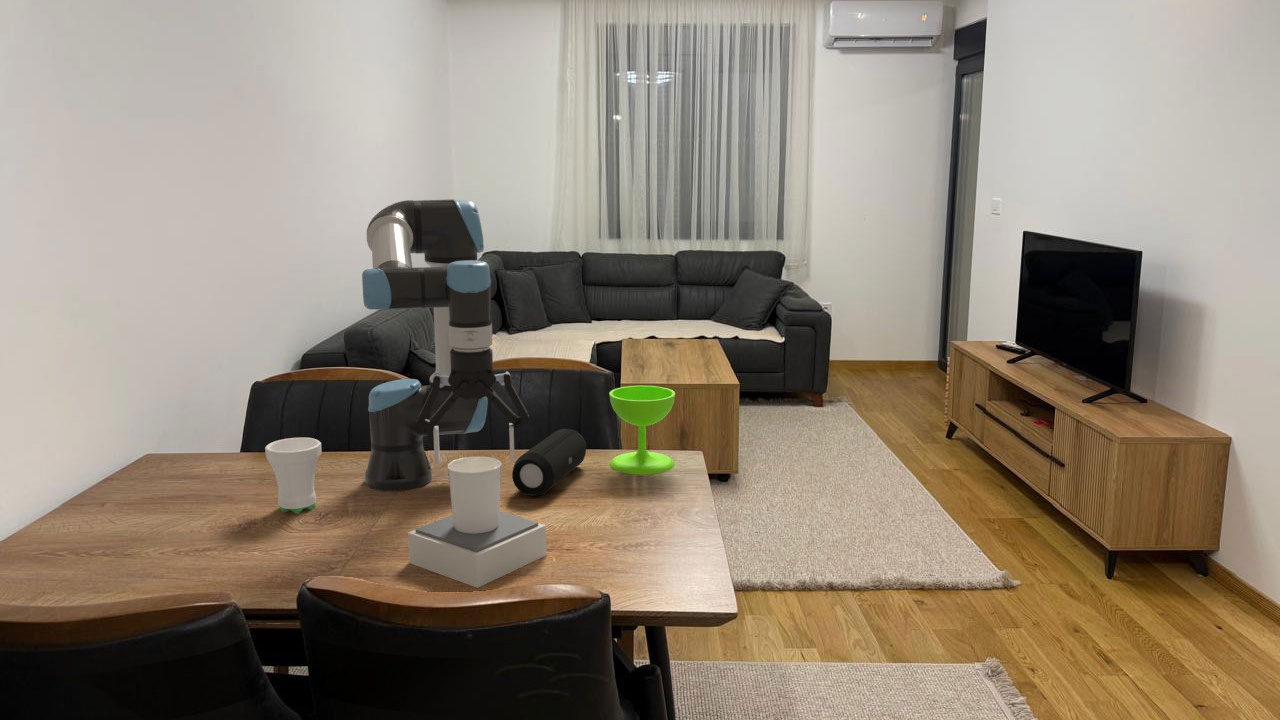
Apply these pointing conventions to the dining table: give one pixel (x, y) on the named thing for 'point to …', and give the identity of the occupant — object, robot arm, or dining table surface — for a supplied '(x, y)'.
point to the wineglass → (642, 426)
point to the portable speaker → (548, 462)
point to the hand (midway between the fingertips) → (474, 460)
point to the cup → (295, 471)
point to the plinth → (477, 549)
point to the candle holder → (475, 493)
